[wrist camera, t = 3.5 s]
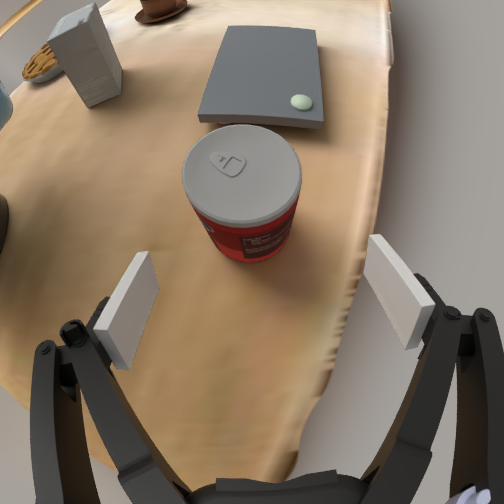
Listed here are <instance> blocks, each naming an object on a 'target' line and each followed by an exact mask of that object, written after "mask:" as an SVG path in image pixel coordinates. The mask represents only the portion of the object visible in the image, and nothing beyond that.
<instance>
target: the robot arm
mask: <svg viewBox="0 0 504 504" xmlns="http://www.w3.org/2000/svg"><path fill="white" fill-rule="evenodd" d="M12 113H13V104H12V102H11V99H10V97H9V95H8V93H7V91H6V89H5V87H4V85H3V84H2V82H1V80H0V131H1V129H2V128H3V127H4V126H5V124H6V123H7V122H8V121H9V119H10V118H11V116H12ZM7 222H8V207H7V202H6V199H5V198H4V196H3V195H1V194H0V252H1V249H2V246H3V242H4V239H5V234H6V229H7ZM364 275H365V277H366V278H367V280H368V282H369V284H370V285H371V287H372V289H373V291H374V292H375V294H376V296H377V298H378V300H379V302H380V303H381V305H382V307H383V309H384V311H385V313H386V314H387V316H388V318H389V320H390V322H391V324H392V326H393V327H394V330H395V332H396V334H397V335H398V337H399V339H400V341H401V343H402V345H403V347H404V349H405V350H407V349H411V348H416V347H418V345H419V343H420V341H421V338H422V340H423V342H424V346H423V349H422V351H421V353H420V355H419V357H418V359H419V361H418V363H417V366H416V369H415V372H414V375H413V377H412V380H411V383H410V385H409V388H408V390H407V392H406V395H405V397H404V400H403V402H402V404H401V407H400V409H399V411H398V413H397V415H396V418H395V420H394V422H393V424H392V426H391V428H390V430H389V432H388V434H387V436H386V438H385V440H384V442H383V444H382V446H381V447H380V449H379V451H378V453H377V455H376V456H375V458H374V460H373V461H372V463H371V465H370V466H369V467H368V468H367V470H366V471H365V473H364V474H363V476H362V477H361V479H358V478H355V477H352V476H348V475H341V474H337V472H336V470H329V471H324V472H318V473H311V474H306V475H303V476H300V477H297V478H295V479H291V480H288V481H285V482H282V483H278V484H274V483H267V482H261V481H256V480H250V479H227V478H216V483H214V484H210V485H206V486H204V487H201V488H199V489H197V490H195V491H193V492H192V491H191V490H190V489H189V488H188V486H187V485H186V484H185V483H184V482H183V481H182V480H181V479H180V478H179V477H178V476H177V475H176V473H175V472H174V471H173V469H172V468H171V467H170V465H169V464H168V463H167V461H166V460H165V459H164V457H163V456H162V454H161V453H160V452H159V450H158V449H157V447H156V446H155V444H154V443H153V441H152V440H151V438H150V437H149V435H148V434H147V432H146V431H145V429H144V428H143V426H142V424H141V423H140V421H139V419H138V418H137V416H136V415H135V413H134V411H133V409H132V408H131V406H130V404H129V402H128V401H127V399H126V397H125V395H124V393H123V392H122V390H121V388H120V386H119V384H118V382H117V380H116V378H115V376H114V374H113V372H112V371H111V369H110V365H111V362H113V364H114V366H115V367H116V369H123V370H130V368H131V365H132V362H133V359H134V356H135V353H136V351H137V348H138V345H139V342H140V339H141V336H142V334H143V331H144V328H145V325H146V323H147V320H148V317H149V315H150V312H151V309H152V307H153V304H154V302H155V299H156V297H157V294H158V292H159V289H160V287H159V284H158V281H157V278H156V274H155V271H154V268H153V264H152V261H151V257H150V254H149V251H145V252H137V254H136V255H135V257H134V259H133V260H132V262H131V263H130V265H129V267H128V268H127V270H126V272H125V273H124V275H123V277H122V278H121V280H120V282H119V283H118V285H117V287H116V288H115V290H114V292H113V294H112V295H111V297H105V298H104V299H103V300H102V301H101V302H100V303H99V305H98V306H97V308H96V311H94V313H93V316H92V317H91V319H90V320H89V322H88V324H87V326H86V328H85V326H84V324H83V323H82V321H80V320H71V321H69V322H67V323H66V324H64V325H63V327H62V328H61V330H60V336H61V338H62V340H63V341H64V343H65V344H66V345H63V346H58V347H57V345H56V344H55V343H54V341H52V340H46V341H44V342H42V343H40V344H39V345H38V347H37V348H36V351H35V357H34V365H33V374H32V386H31V402H30V444H31V459H32V471H33V479H34V486H35V493H36V503H35V504H101V503H100V499H99V496H98V492H97V489H96V485H95V481H94V476H93V472H92V468H91V463H90V458H89V453H88V448H87V442H86V436H85V429H84V422H83V414H82V404H81V393H80V388H81V391H82V394H83V396H84V399H85V401H86V404H87V407H88V409H89V411H90V414H91V416H92V419H93V421H94V423H95V425H96V428H97V430H98V432H99V434H100V436H101V439H102V441H103V443H104V445H105V447H106V449H107V451H108V453H109V455H110V456H111V458H112V460H113V462H114V464H115V466H116V468H117V469H118V472H119V474H118V480H119V482H120V483H121V486H122V487H123V489H124V491H125V492H126V494H127V495H128V497H129V499H130V500H131V502H132V503H133V504H410V503H411V501H412V499H413V497H414V495H415V493H416V491H417V489H418V487H419V485H420V483H421V481H422V479H423V477H424V475H425V472H426V470H427V468H428V466H429V463H430V461H431V458H432V452H431V451H430V449H431V445H432V443H433V440H434V437H435V435H436V432H437V429H438V426H439V423H440V420H441V417H442V414H443V411H444V407H445V404H446V400H447V397H448V393H449V389H450V385H451V381H452V377H453V373H454V368H455V363H456V369H457V426H456V440H455V451H454V459H453V467H452V474H451V481H450V496H449V497H450V499H449V500H448V501H447V502H446V504H504V352H503V347H502V343H501V339H500V335H499V331H498V327H497V324H496V320H495V317H494V315H493V314H492V313H491V312H490V311H489V310H488V309H485V308H478V309H476V310H475V312H474V314H473V316H468V315H462V314H461V313H460V311H459V310H458V309H457V308H454V307H452V306H446V305H445V304H444V302H443V301H442V300H441V298H440V297H439V295H438V294H437V293H436V292H435V290H433V288H432V286H430V284H429V283H428V281H427V280H426V279H425V278H424V277H422V276H421V275H420V274H418V273H417V274H413V273H412V272H411V271H410V270H409V268H408V267H407V266H406V265H405V263H404V262H403V261H402V260H401V258H400V257H399V256H398V255H397V253H396V252H395V251H394V250H393V249H392V248H391V246H390V245H389V244H388V243H387V242H386V240H385V239H384V238H383V237H382V236H381V235H380V234H377V235H369V240H368V247H367V254H366V261H365V268H364Z"/></svg>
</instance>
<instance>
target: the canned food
mask: <svg viewBox="0 0 504 504" xmlns="http://www.w3.org/2000/svg"><path fill="white" fill-rule="evenodd" d="M182 182H183V186H184V189H185V192H186V195H187V197H188V199H189V201H190V203H191V205H192V207H193V208H194V210H195V212H196V214H197V215H198V217H199V219H200V220H201V222H202V224H203V226H204V227H205V229H206V231H207V232H208V234H209V236H210V237H211V239H212V241H213V242H214V244H215V246H216V247H217V248H218V249H219V250H220V251H221V252H222V253H223V254H225V255H226V256H228V257H230V258H232V259H234V260H237V261H241V262H250V263H252V262H260V261H263V260H266V259H268V258H270V257H272V256H274V255H275V254H276V253H277V252H278V251H280V250H281V248H282V247H283V246H284V244H285V242H286V240H287V238H288V235H289V232H290V228H291V224H292V221H293V217H294V213H295V210H296V206H297V202H298V199H299V193H300V189H301V183H302V168H301V164H300V160H299V157H298V155H297V154H296V152H295V150H294V148H293V147H292V146H291V145H290V144H289V143H288V142H287V141H286V140H285V139H284V138H282V137H281V136H280V135H278V134H277V133H275V132H273V131H271V130H269V129H266V128H263V127H260V126H254V125H240V124H238V125H231V126H226V127H222V128H219V129H216V130H214V131H212V132H210V133H208V134H206V135H205V136H204V137H202V138H201V139H199V140H198V141H197V142H196V143H195V144H194V145H193V146H192V148H191V149H190V151H189V152H188V154H187V156H186V158H185V161H184V163H183V169H182Z"/></svg>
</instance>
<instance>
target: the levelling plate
mask: <svg viewBox="0 0 504 504" xmlns="http://www.w3.org/2000/svg"><path fill="white" fill-rule="evenodd" d="M198 117H199V121H200V123H203V122H216V123H219V124H230V123H251V124H268V125H281V126H292V127H302V128H311V129H319V130H322V126H323V122H324V119H323V103H322V89H321V77H320V67H319V57H318V48H317V40H316V32H315V30H310V29H301V28H290V27H276V26H228V28H227V31H226V33H225V36H224V38H223V41H222V44H221V46H220V49H219V52H218V54H217V57H216V60H215V63H214V65H213V68H212V71H211V74H210V77H209V80H208V83H207V86H206V89H205V92H204V95H203V98H202V102H201V105H200V108H199V111H198Z"/></svg>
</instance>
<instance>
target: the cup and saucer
mask: <svg viewBox="0 0 504 504" xmlns="http://www.w3.org/2000/svg"><path fill="white" fill-rule="evenodd" d="M140 1H141V4H142V7H143V9H142V10H141V11H140V12H138V13H137V14H136V16H135V19H136V21H138V22H141V23H151V22H157V21H161V20H164V19H167V18H169V17H172V16H174V15H176V14H178V13H179V12H181V11H182V10H183V9H184V8H185V7H186V6H187V0H140Z"/></svg>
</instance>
